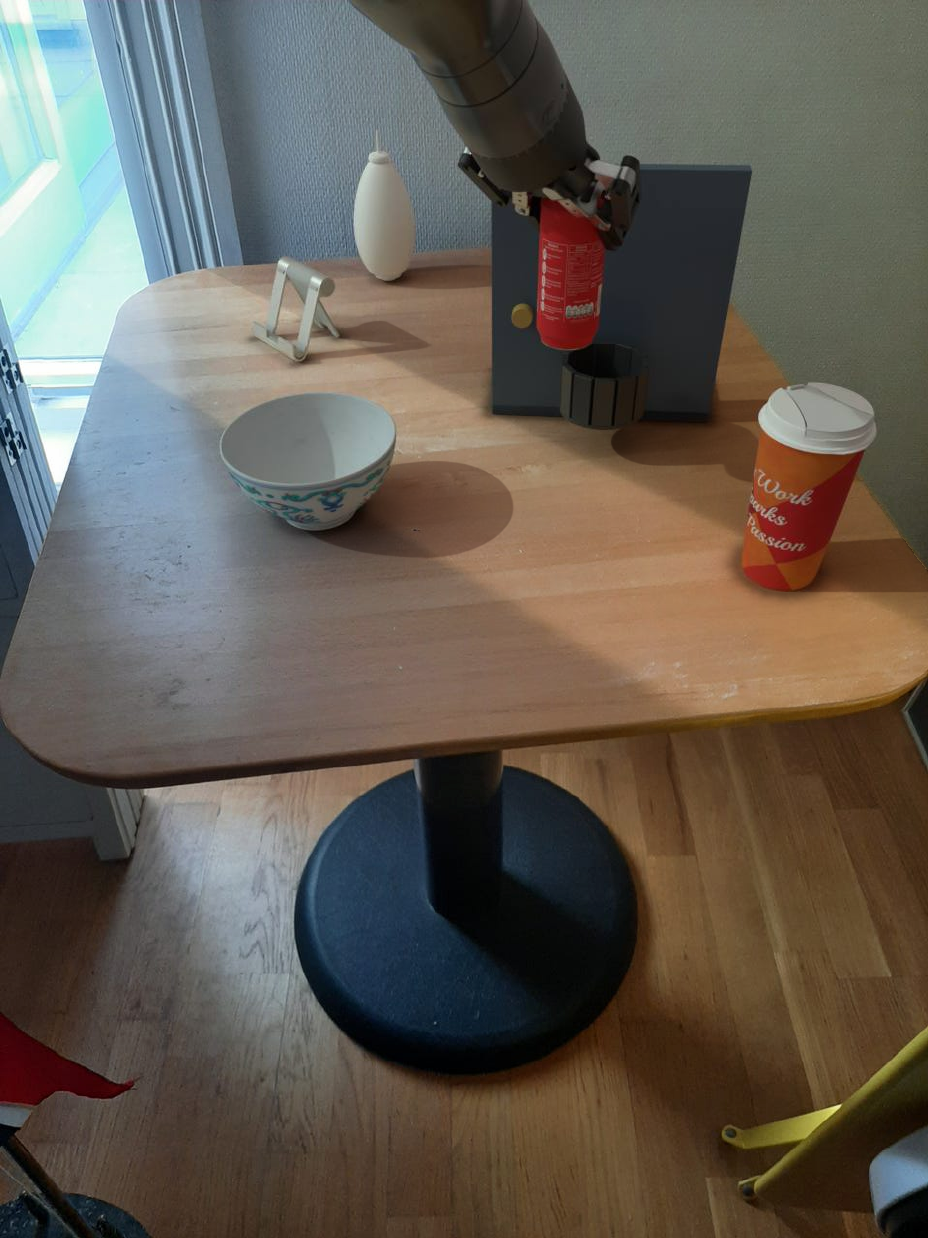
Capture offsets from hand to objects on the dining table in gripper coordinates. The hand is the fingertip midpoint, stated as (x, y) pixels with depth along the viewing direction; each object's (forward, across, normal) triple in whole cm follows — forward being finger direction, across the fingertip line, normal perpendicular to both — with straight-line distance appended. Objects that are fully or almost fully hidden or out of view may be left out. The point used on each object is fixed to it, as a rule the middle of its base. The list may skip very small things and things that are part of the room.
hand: (582, 232), depth 74 cm
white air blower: (+35, +41, -4) cm, 54 cm away
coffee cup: (+12, -22, +19) cm, 32 cm away
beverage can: (+5, 0, +7) cm, 9 cm away
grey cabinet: (+22, +1, +9) cm, 24 cm away
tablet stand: (+21, +39, +10) cm, 46 cm away
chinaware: (+3, +16, +28) cm, 33 cm away
